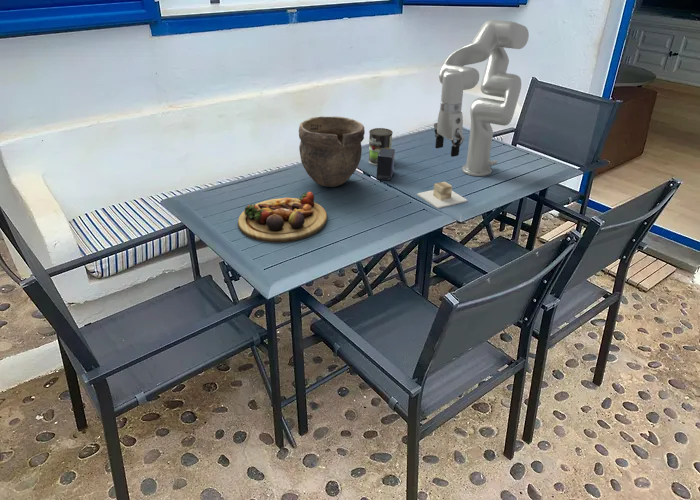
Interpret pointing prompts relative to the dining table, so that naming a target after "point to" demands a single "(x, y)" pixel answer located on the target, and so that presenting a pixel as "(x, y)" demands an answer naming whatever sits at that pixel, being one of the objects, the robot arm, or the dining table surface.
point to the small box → (385, 164)
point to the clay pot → (330, 148)
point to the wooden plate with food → (283, 219)
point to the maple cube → (442, 190)
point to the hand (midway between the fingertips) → (446, 151)
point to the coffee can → (378, 142)
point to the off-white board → (441, 203)
